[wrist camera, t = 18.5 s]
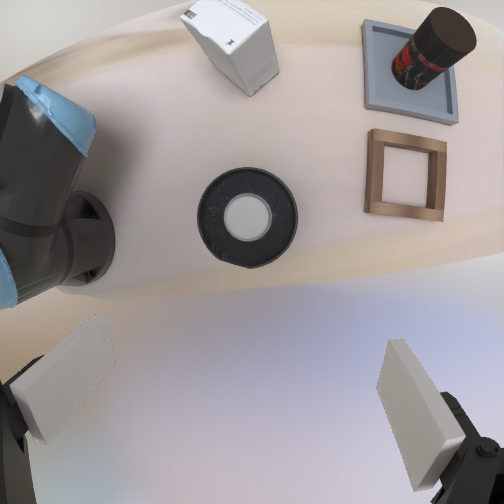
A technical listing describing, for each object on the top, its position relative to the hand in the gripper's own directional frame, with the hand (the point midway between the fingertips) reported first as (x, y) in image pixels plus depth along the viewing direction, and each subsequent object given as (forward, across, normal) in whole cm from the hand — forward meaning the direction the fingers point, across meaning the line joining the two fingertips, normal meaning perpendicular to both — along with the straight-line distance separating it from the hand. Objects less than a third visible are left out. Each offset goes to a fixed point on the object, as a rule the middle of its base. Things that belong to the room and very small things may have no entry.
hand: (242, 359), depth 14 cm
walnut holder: (+30, +18, +10) cm, 37 cm away
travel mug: (+31, -1, +4) cm, 31 cm away
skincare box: (+32, -4, +24) cm, 40 cm away
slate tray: (+31, +20, +26) cm, 45 cm away
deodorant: (+31, +19, +26) cm, 44 cm away
